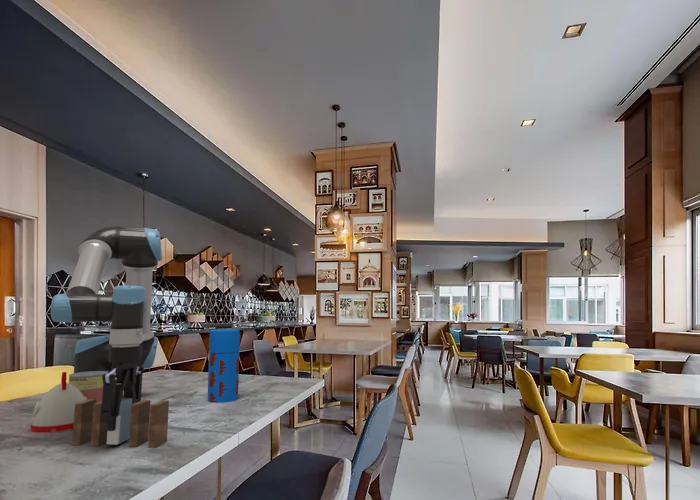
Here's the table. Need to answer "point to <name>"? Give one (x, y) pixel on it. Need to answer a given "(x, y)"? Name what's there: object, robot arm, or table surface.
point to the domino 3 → (124, 419)
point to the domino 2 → (98, 426)
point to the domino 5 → (158, 423)
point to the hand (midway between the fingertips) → (120, 439)
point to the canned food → (89, 383)
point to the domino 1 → (82, 422)
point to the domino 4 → (139, 423)
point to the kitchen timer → (56, 408)
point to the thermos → (223, 366)
